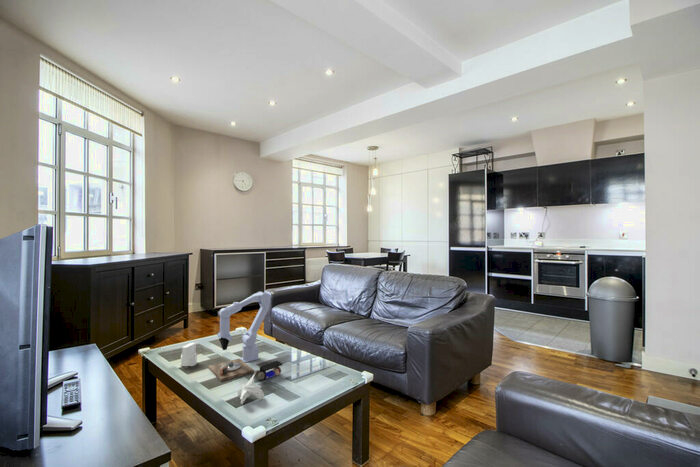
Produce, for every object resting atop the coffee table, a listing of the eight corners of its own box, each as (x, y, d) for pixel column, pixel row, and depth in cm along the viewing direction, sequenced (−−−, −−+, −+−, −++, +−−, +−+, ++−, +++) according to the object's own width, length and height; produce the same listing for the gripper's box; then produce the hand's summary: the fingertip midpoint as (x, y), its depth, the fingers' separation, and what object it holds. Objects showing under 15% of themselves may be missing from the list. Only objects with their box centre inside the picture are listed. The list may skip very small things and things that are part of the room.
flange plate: (227, 363, 200) (227, 358, 200) (243, 364, 198) (243, 359, 198) (212, 373, 185) (212, 368, 185) (230, 375, 183) (230, 370, 183)
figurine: (241, 414, 159) (260, 411, 153) (226, 401, 155) (245, 397, 149) (255, 387, 170) (273, 383, 164) (241, 374, 167) (259, 370, 161)
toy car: (260, 386, 176) (284, 375, 187) (258, 373, 175) (282, 362, 186) (254, 382, 181) (277, 371, 191) (252, 369, 180) (276, 359, 191)
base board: (239, 360, 209) (239, 353, 209) (253, 372, 191) (253, 363, 191) (208, 368, 196) (208, 360, 197) (220, 381, 179) (220, 372, 179)
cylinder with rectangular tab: (190, 367, 198) (190, 348, 198) (177, 366, 199) (177, 346, 200) (199, 362, 206) (200, 343, 207) (187, 361, 208) (187, 342, 208)
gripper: (212, 327, 204) (212, 348, 204) (224, 331, 195) (224, 354, 194) (223, 324, 209) (223, 345, 209) (235, 328, 200) (235, 350, 200)
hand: (224, 349), depth 202 cm, fingers closed
